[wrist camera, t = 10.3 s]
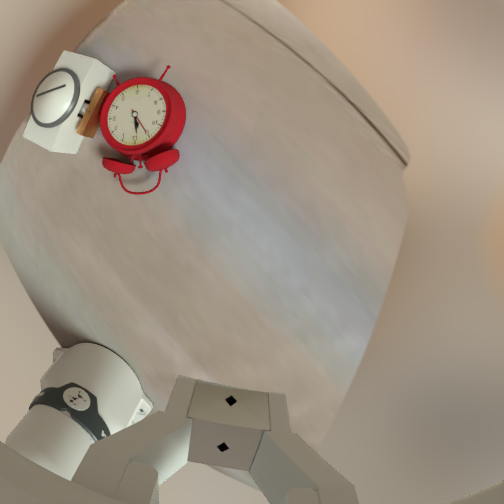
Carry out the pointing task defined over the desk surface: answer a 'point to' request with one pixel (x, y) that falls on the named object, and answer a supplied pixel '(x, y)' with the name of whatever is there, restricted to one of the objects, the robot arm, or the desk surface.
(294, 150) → the desk surface
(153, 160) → the alarm clock
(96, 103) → the wooden handled metal scraper
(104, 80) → the dial gauge
